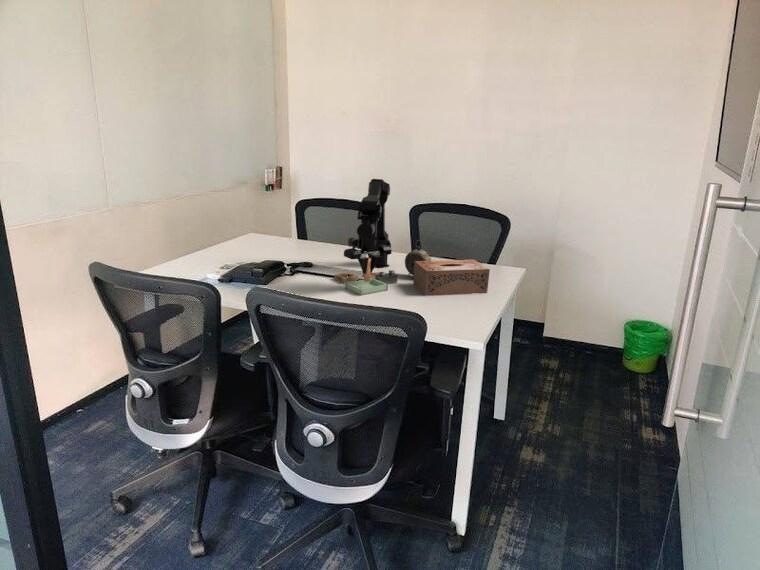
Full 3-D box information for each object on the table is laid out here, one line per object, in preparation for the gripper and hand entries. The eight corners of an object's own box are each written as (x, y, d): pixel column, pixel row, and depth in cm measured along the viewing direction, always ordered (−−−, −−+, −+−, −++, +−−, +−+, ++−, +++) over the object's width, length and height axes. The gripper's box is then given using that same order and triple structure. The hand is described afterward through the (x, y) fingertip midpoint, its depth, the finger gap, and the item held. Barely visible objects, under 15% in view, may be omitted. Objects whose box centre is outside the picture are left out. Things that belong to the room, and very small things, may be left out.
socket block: (348, 277, 235) (348, 272, 234) (358, 281, 229) (358, 276, 229) (334, 279, 230) (334, 274, 230) (343, 283, 225) (344, 278, 225)
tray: (372, 283, 227) (372, 278, 226) (387, 290, 219) (388, 284, 219) (345, 288, 219) (345, 282, 219) (360, 295, 212) (360, 289, 211)
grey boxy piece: (392, 280, 232) (393, 269, 231) (397, 282, 230) (397, 271, 229) (375, 283, 227) (375, 272, 226) (379, 285, 225) (380, 274, 223)
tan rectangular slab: (382, 277, 238) (382, 271, 237) (392, 281, 233) (392, 276, 232) (362, 280, 233) (362, 274, 232) (371, 284, 227) (371, 278, 226)
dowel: (367, 279, 220) (368, 257, 217) (371, 281, 218) (372, 258, 216) (362, 280, 219) (363, 258, 216) (366, 282, 217) (367, 259, 214)
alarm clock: (430, 279, 237) (433, 241, 233) (424, 282, 233) (427, 243, 228) (408, 274, 243) (411, 237, 238) (401, 276, 239) (404, 239, 234)
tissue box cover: (425, 296, 216) (427, 271, 213) (413, 285, 229) (414, 261, 226) (487, 293, 223) (489, 269, 220) (471, 283, 236) (474, 259, 233)
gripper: (375, 227, 224) (374, 265, 229) (336, 231, 213) (335, 271, 218) (393, 232, 216) (391, 272, 221) (353, 237, 205) (351, 278, 210)
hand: (367, 273), depth 218 cm, fingers closed on dowel, 2 cm apart
